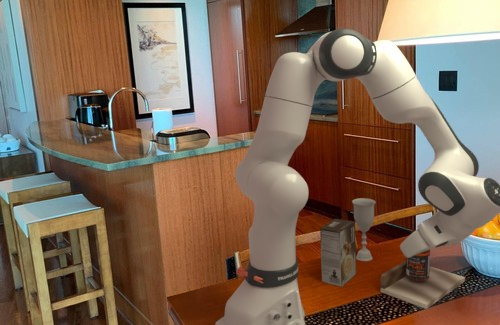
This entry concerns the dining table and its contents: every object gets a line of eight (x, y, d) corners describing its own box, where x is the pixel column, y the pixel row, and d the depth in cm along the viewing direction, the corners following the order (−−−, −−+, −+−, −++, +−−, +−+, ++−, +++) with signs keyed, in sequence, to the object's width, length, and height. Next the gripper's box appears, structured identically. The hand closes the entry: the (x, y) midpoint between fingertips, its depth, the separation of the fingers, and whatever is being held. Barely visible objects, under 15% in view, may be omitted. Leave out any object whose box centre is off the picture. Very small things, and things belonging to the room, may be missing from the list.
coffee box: (336, 269, 142) (335, 217, 139) (356, 274, 138) (356, 221, 135) (321, 282, 135) (319, 227, 132) (341, 287, 131) (341, 231, 128)
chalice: (347, 256, 151) (347, 200, 147) (365, 251, 154) (365, 196, 150) (362, 264, 144) (362, 206, 140) (380, 259, 147) (380, 202, 143)
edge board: (426, 309, 118) (426, 291, 117) (380, 291, 128) (380, 275, 127) (464, 281, 131) (465, 264, 130) (420, 267, 140) (420, 251, 139)
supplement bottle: (406, 281, 128) (406, 241, 126) (405, 271, 134) (406, 233, 131) (430, 283, 126) (431, 242, 124) (428, 273, 132) (429, 234, 129)
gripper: (467, 206, 126) (433, 231, 136) (415, 224, 115) (383, 250, 125) (482, 226, 123) (447, 251, 133) (431, 247, 112) (397, 272, 122)
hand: (416, 251), depth 129 cm, fingers closed on supplement bottle, 6 cm apart
